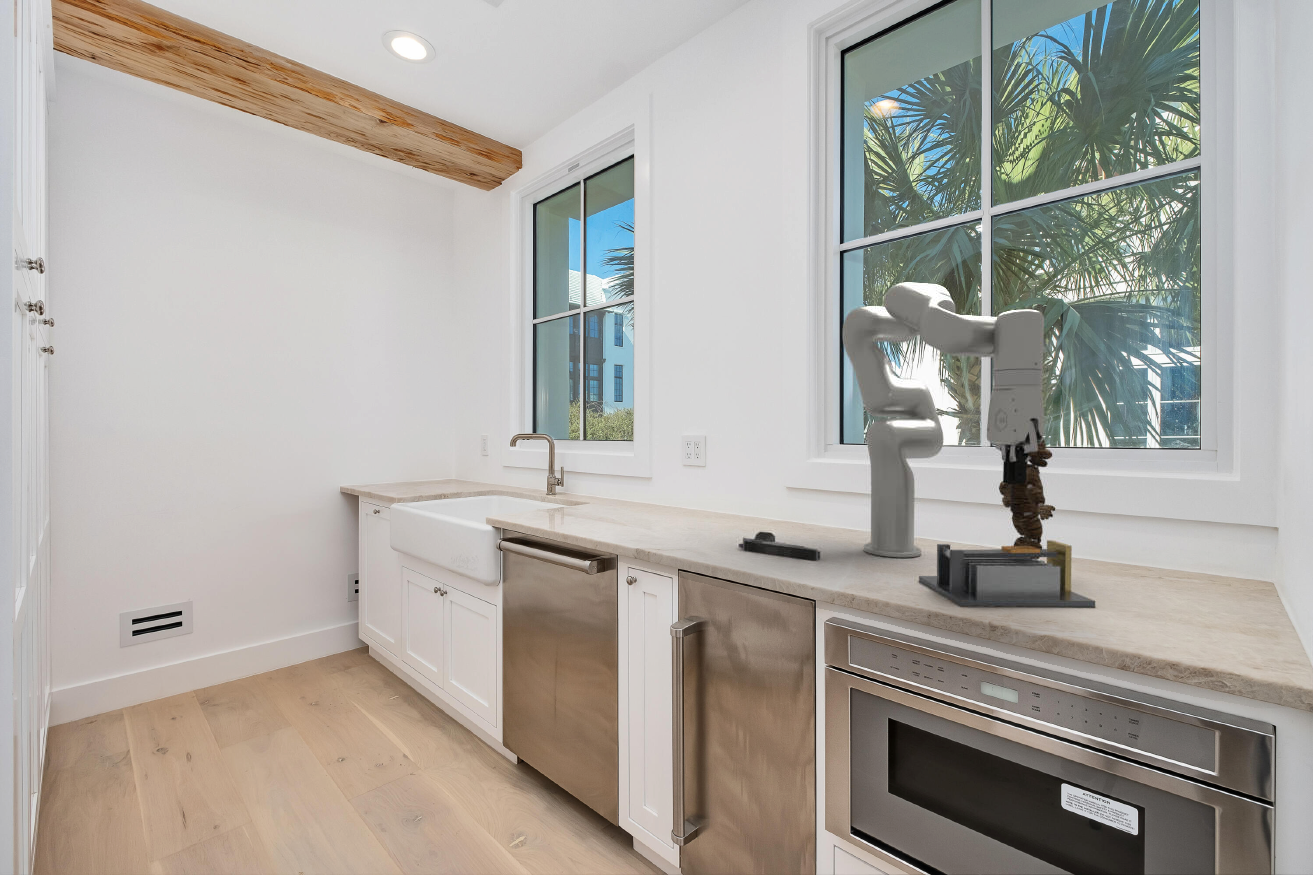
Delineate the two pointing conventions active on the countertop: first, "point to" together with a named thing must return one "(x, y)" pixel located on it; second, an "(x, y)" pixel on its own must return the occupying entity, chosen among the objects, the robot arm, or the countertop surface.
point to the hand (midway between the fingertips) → (1014, 483)
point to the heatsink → (1007, 580)
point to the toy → (1029, 501)
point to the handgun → (778, 547)
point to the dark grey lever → (1005, 552)
